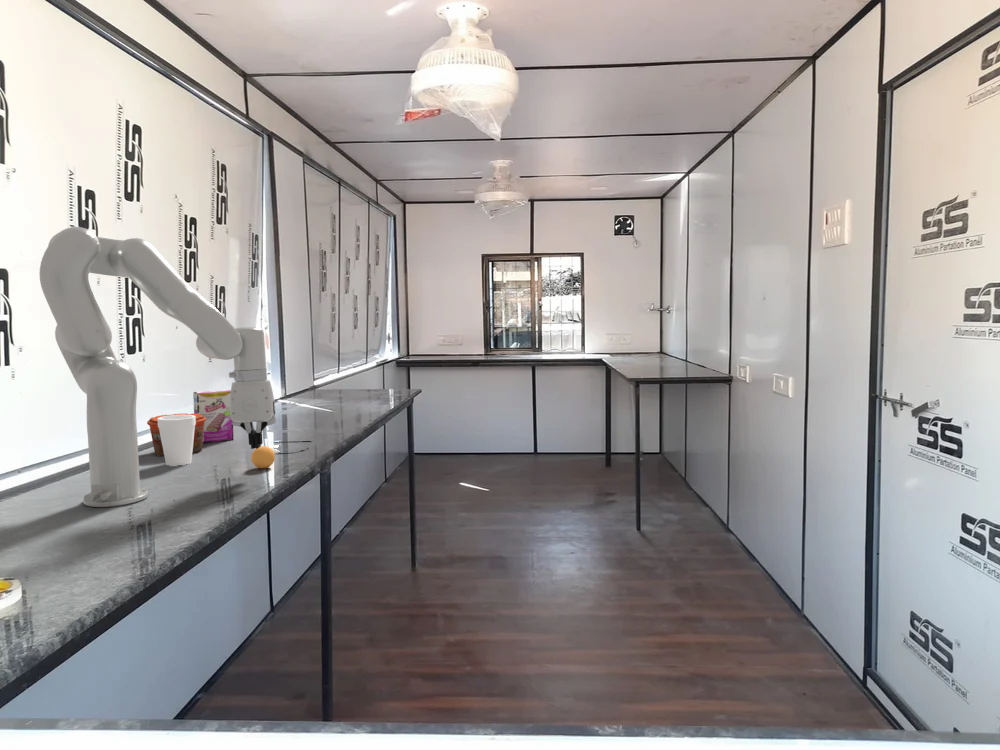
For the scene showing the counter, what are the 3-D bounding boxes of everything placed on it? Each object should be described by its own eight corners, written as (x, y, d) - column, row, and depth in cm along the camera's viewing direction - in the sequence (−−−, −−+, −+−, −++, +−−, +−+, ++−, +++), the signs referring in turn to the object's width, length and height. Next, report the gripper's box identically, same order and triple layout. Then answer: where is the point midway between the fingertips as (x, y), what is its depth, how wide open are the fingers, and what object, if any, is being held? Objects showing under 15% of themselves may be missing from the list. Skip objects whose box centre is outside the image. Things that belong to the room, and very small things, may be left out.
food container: (179, 459, 191) (177, 422, 190) (136, 455, 196) (134, 419, 195) (219, 448, 206) (217, 414, 205) (178, 445, 211) (176, 411, 210)
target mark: (303, 453, 198) (303, 452, 198) (255, 454, 197) (255, 453, 197) (312, 444, 212) (312, 443, 212) (267, 445, 211) (267, 444, 211)
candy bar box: (198, 444, 213) (196, 393, 211) (194, 441, 217) (192, 391, 215) (234, 439, 220) (232, 390, 218) (229, 437, 224) (227, 389, 222)
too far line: (311, 441, 216) (311, 441, 216) (273, 442, 215) (273, 441, 215) (312, 440, 218) (312, 440, 218) (275, 441, 217) (275, 440, 217)
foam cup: (204, 460, 190) (202, 415, 188) (185, 467, 181) (183, 420, 179) (172, 459, 191) (170, 414, 189) (152, 467, 182) (150, 419, 180)
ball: (272, 470, 177) (271, 448, 177) (249, 471, 177) (248, 448, 176) (277, 465, 183) (276, 443, 183) (255, 465, 183) (254, 444, 182)
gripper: (215, 379, 164) (221, 452, 166) (277, 376, 165) (282, 449, 167) (225, 375, 171) (230, 445, 173) (284, 373, 173) (289, 443, 175)
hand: (256, 447), depth 170 cm, fingers closed
